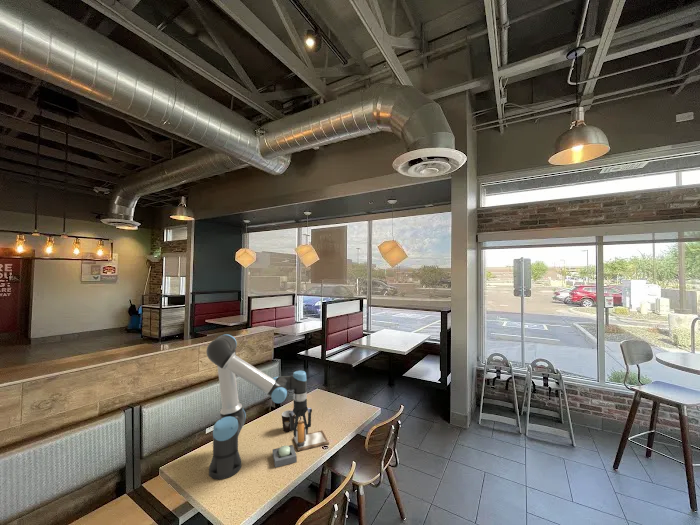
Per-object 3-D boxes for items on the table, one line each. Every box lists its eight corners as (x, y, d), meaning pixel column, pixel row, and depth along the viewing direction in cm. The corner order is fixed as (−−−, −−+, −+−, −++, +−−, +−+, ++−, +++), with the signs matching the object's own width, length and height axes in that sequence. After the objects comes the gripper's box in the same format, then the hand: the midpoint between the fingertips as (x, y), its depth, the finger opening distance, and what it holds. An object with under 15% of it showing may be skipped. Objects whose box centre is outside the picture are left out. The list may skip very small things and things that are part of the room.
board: (298, 451, 159) (298, 448, 160) (293, 438, 172) (293, 435, 173) (329, 444, 166) (329, 441, 166) (322, 432, 179) (322, 429, 179)
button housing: (275, 467, 147) (275, 461, 147) (272, 455, 157) (272, 449, 157) (296, 462, 151) (296, 456, 151) (292, 450, 161) (292, 444, 161)
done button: (279, 459, 150) (279, 453, 150) (277, 452, 155) (277, 447, 156) (291, 456, 152) (291, 450, 152) (289, 450, 158) (289, 444, 158)
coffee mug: (278, 431, 181) (278, 414, 181) (287, 424, 188) (287, 409, 189) (293, 435, 175) (293, 419, 176) (301, 429, 183) (301, 413, 183)
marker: (298, 447, 161) (297, 425, 162) (296, 443, 165) (296, 421, 165) (305, 445, 163) (305, 423, 163) (303, 441, 167) (303, 420, 167)
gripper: (286, 404, 158) (286, 448, 157) (316, 399, 165) (317, 440, 164) (283, 399, 165) (284, 441, 164) (313, 394, 172) (313, 434, 171)
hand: (300, 440), depth 164 cm, fingers closed on marker, 4 cm apart
